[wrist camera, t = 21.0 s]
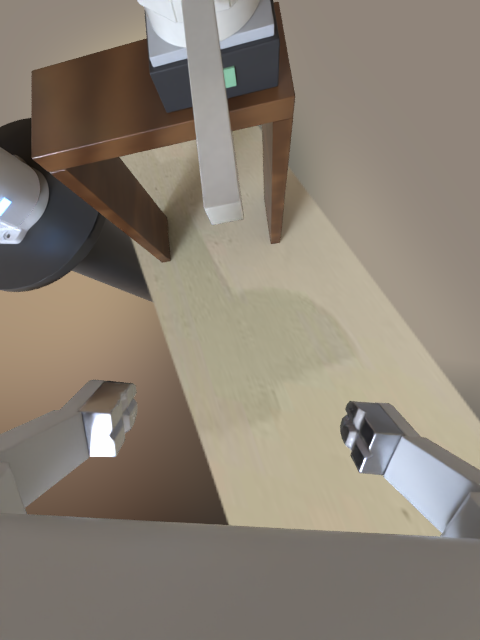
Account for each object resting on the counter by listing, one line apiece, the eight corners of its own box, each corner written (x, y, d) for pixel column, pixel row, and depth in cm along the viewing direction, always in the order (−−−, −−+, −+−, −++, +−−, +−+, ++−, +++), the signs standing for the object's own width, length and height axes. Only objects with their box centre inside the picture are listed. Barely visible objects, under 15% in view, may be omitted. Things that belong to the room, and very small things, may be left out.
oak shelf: (162, 262, 39) (30, 158, 18) (158, 218, 40) (31, 70, 19) (280, 242, 37) (295, 96, 16) (273, 197, 38) (278, 0, 17)
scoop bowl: (168, 255, 12) (120, 210, 8) (143, -32, 15) (97, -173, 11) (305, 231, 11) (324, 169, 7) (254, -67, 14) (248, -233, 10)
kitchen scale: (166, 115, 17) (144, 65, 14) (159, 33, 18) (137, -30, 15) (278, 88, 16) (281, 28, 13) (264, 4, 17) (263, -70, 14)
